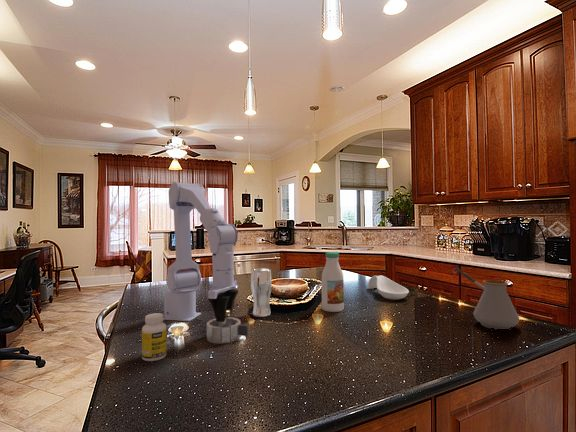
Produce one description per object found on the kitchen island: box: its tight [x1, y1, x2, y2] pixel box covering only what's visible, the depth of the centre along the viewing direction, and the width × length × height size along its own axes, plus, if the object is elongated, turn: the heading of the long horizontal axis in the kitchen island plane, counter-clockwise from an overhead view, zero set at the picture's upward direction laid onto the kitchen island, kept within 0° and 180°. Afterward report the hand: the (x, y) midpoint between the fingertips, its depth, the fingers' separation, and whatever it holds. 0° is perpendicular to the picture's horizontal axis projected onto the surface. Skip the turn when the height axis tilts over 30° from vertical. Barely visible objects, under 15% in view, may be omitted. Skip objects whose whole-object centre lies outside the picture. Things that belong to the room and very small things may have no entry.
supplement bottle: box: [141, 312, 168, 362], centre depth 77 cm, size 5×5×10 cm
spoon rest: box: [367, 274, 410, 301], centre depth 136 cm, size 24×12×7 cm, turn 13°
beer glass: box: [250, 267, 273, 318], centre depth 110 cm, size 7×7×15 cm
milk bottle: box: [321, 251, 345, 313], centre depth 115 cm, size 8×8×20 cm
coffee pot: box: [452, 267, 520, 330], centre depth 101 cm, size 21×12×15 cm, turn 16°
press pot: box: [206, 317, 249, 344], centre depth 89 cm, size 11×9×4 cm
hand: (223, 318), depth 89 cm, fingers closed on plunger, 4 cm apart
